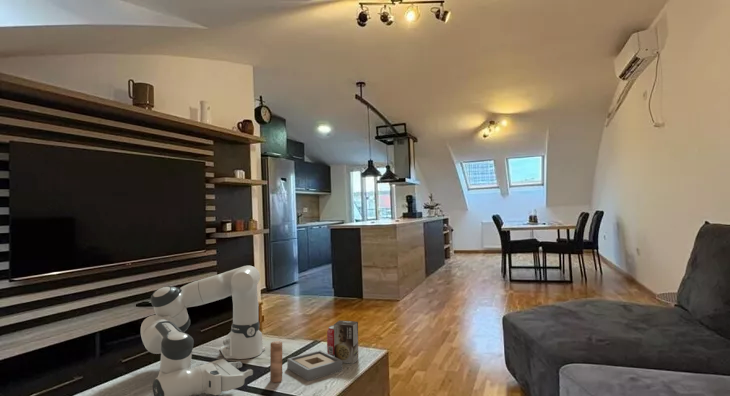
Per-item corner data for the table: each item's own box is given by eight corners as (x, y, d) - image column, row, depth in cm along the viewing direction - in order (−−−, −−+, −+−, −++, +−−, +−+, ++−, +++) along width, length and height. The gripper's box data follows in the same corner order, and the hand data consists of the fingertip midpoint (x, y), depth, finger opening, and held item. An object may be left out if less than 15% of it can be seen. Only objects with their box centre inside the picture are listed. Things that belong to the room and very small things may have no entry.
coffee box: (358, 359, 176) (358, 321, 177) (353, 364, 170) (353, 325, 170) (339, 356, 179) (339, 319, 180) (333, 361, 173) (333, 323, 173)
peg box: (287, 368, 165) (287, 358, 166) (320, 359, 175) (320, 350, 176) (307, 380, 153) (307, 370, 153) (342, 370, 163) (342, 360, 163)
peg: (268, 380, 154) (268, 342, 154) (278, 377, 157) (279, 340, 157) (273, 383, 150) (273, 345, 151) (284, 380, 153) (284, 343, 154)
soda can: (343, 351, 186) (343, 325, 186) (341, 356, 179) (341, 329, 179) (328, 351, 187) (328, 324, 187) (325, 356, 180) (325, 328, 180)
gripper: (197, 377, 146) (235, 368, 154) (217, 397, 130) (258, 385, 138) (197, 359, 146) (235, 351, 155) (218, 377, 130) (258, 366, 139)
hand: (246, 367), depth 146 cm, fingers open, 8 cm apart
